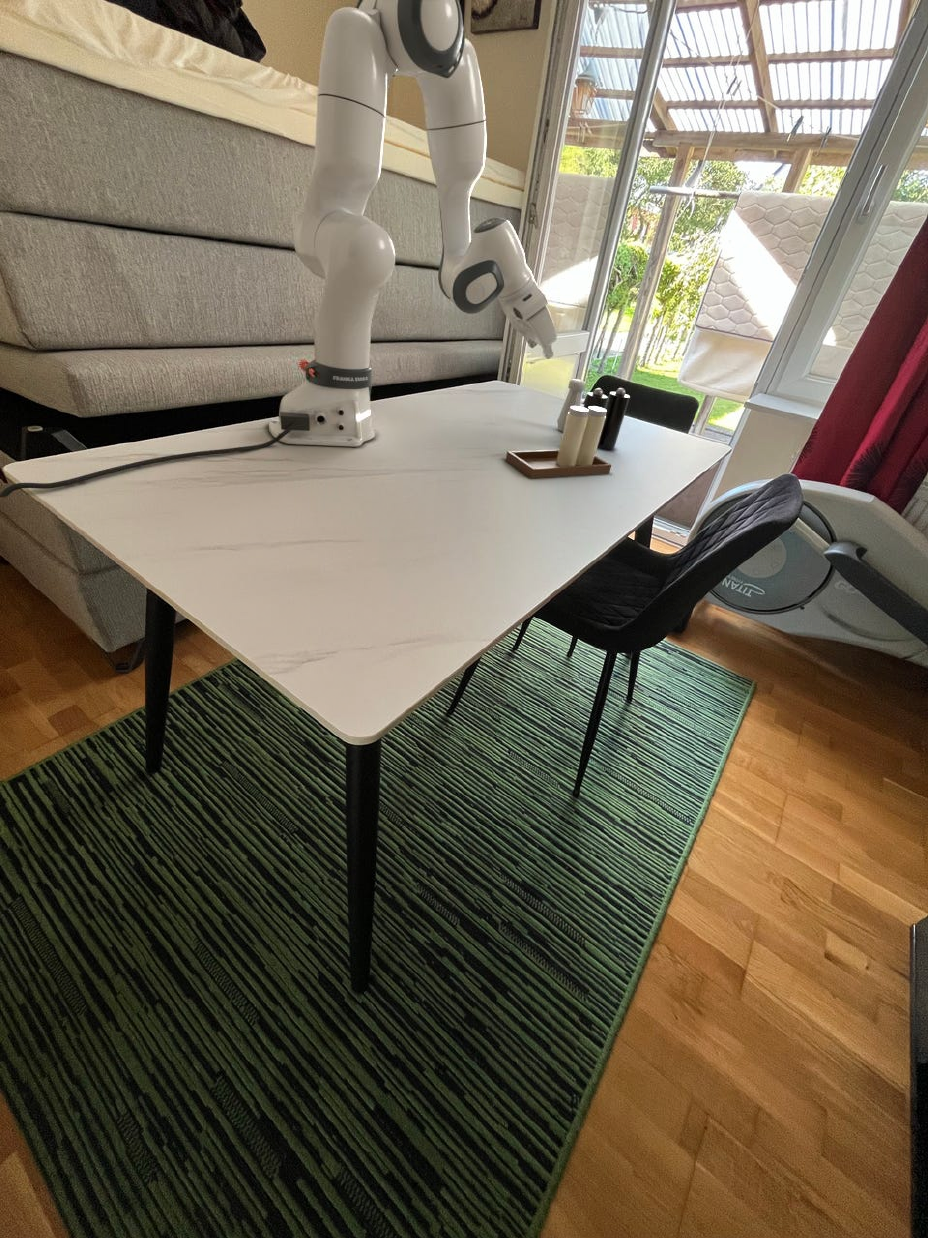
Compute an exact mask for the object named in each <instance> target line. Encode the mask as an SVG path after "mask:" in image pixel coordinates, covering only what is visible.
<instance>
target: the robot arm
mask: <svg viewBox="0 0 928 1238" xmlns="http://www.w3.org/2000/svg"><path fill="white" fill-rule="evenodd" d="M397 76H398V77H413V78H414V79H415V81H416V83H417V85H418V87H419V90H420V93H421V96H422V100H423V108H424V120H425V128H426V139H427V144H428V151H429V157H430V161H431V166H432V171H433V175H434V181H435V185H436V190H437V195H438V204H439V205H438V206H439V217H440V229H441V241H442V242H441V243H442V249H441V258H440V262H439V266H438V271H437V273H438V274H437V281H438V285H439V289H440V291H441V293H442V294H443V296H444V297H446V299H447V300H450V302H452V303H453V304H454V305H455V306H456V307H457V308H458V309H459V310H460V311H461V312H463V313H466V314H470V315H472V314H478V313H480V312H482V311H483V310H485V309H486V308H487V307H488V306H489V305H491V304H492V302H494V300H495V299H496V298H497V300H498V302H499V304H500V307H501V310H502V312H503V313H504V315H505V316H506V317H507V318H508V322H509V323H510V325H511V327H512V328H513V329H514V330H516V331H517V332H519V333H520V334H521V336H522V337H523V338H524V340H525V341H526V343H527V345H528V347H529V348H531V349H534V348H535V347H536V346H537V345H539V346H540V347H541V348H542V355H543V356H544V358H546V360H550V359H551V358H553V356H554V352H553V349H552V344H554V343H555V342H556V341H557V337H558V335H557V330H556V327H555V323H554V321H553V317H552V314H551V312H550V310H549V308H548V306H547V305H548V304H549V300H548V297H547V295H546V294H545V293H544V292H543V291H542V289H541V288H540V287H539V286H538V284H537V282H536V280H535V278H534V275H533V273H532V270H531V269H530V268H529V266H528V264H527V263H526V255H525V252H524V249H523V246H522V244H521V241H520V239H519V236H518V235H517V232H516V230H515V229H514V226H513V225H512V224H511V222H510V221H509V220H507V219H506V218H503V217H493V218H489V219H487V220H485V221H482V222H481V223H479V224H478V225H477V226H476V227H475V228H474V229H473V231H472V236H471V223H470V198H471V194H472V191H473V188H474V186H475V184H476V182H477V181H478V180H479V179H480V177H481V175H482V173H483V171H484V168H485V164H486V155H487V154H486V153H487V126H486V125H487V123H486V112H485V111H486V109H485V108H486V107H485V99H484V91H483V84H482V77H481V72H480V66H479V61H478V56H477V53H476V49H475V47H474V45H473V44H472V42H471V41H470V39H468V38H466V30H465V26H464V20H463V12H462V7H461V4H460V0H358V1H357V3H356V5H355V7H352V6H345V7H341V8H338V9H336V10H334V12H332V14H331V15H330V16H329V18H328V20H327V23H326V26H325V32H324V37H323V42H322V49H321V55H320V62H319V71H318V81H317V82H318V83H317V98H316V99H317V100H316V101H317V102H316V122H315V141H314V144H315V145H314V157H313V165H312V169H311V175H310V180H309V184H308V188H307V192H306V198H305V203H304V207H303V211H302V214H301V216H300V218H299V219H298V221H297V222H296V224H295V227H294V230H293V247H294V250H295V253H296V255H297V257H298V259H299V260H300V262H301V263H302V264H303V265H304V267H306V269H308V270H309V271H310V272H311V273H313V274H314V275H315V276H316V277H318V278H320V279H324V287H323V293H322V298H321V302H320V305H319V308H318V310H316V312H315V314H314V317H313V334H314V335H313V338H314V339H313V341H314V359H313V360H312V361H310V362H309V361H308V360H307V359H305V358H302V359H300V361H299V362H298V366H299V368H300V370H302V371H303V372H304V373H305V374H304V375H305V380H304V381H302V382H301V383H299V384H298V385H297V386H296V387H294V388H293V389H292V390H290V391H289V392H288V393H286V394H285V395H283V397H282V399H281V400H280V404H279V410H278V411H279V412H278V417H276V418H271V420H269V423H268V430H269V433H270V434H271V436H273V439H271V440H269V441H266V442H263V443H259V444H254V445H245V446H236V447H229V448H220V449H209V450H200V451H193V452H186V453H178V454H172V455H165V456H160V457H153V458H150V459H149V458H148V459H145V460H140V461H135V462H131V463H126V464H123V465H118V466H114V467H110V468H106V469H103V470H98V471H95V472H91V473H88V474H84V475H80V476H76V477H72V478H68V479H65V480H64V479H63V480H60V481H55V482H18V483H13V484H11V485H9V486H7V487H5V488H4V489H3V490H2V491H1V492H0V498H7V497H8V496H10V494H12V493H13V492H15V491H17V490H22V489H38V490H39V489H41V490H48V489H57V488H62V487H68V486H71V485H75V484H79V483H82V482H85V481H89V480H92V479H96V478H99V477H103V476H108V475H111V474H115V473H119V472H123V471H126V470H130V469H131V470H132V469H135V468H140V467H144V466H148V465H149V466H150V465H153V464H158V463H164V462H169V461H174V460H182V459H189V458H196V457H203V456H211V455H212V456H213V455H214V456H215V455H222V454H224V455H225V454H231V453H237V452H246V451H255V450H259V449H263V448H267V447H269V446H272V445H274V444H276V443H277V442H281V443H284V444H288V445H289V444H290V445H307V446H308V445H309V446H332V447H360V446H361V445H363V443H365V442H367V441H370V440H372V439H373V438H375V436H376V431H375V428H374V422H373V417H372V416H373V415H372V408H371V394H372V386H373V374H372V366H371V364H370V363H371V361H370V360H371V339H372V338H371V337H372V325H373V318H374V314H375V311H376V307H377V303H378V299H379V296H380V294H381V290H383V287H384V286H385V285H386V284H387V283H388V282H389V281H390V279H391V278H392V275H393V272H394V270H395V267H396V266H395V265H396V251H395V246H394V243H393V241H392V239H391V237H390V235H389V233H388V232H387V231H386V229H384V228H383V227H382V226H381V225H379V224H378V223H376V221H374V220H372V219H370V218H369V217H367V216H364V213H365V210H366V206H367V203H368V200H369V198H370V196H371V194H372V192H373V190H374V188H376V186H377V184H378V182H379V179H380V176H381V171H382V162H383V161H382V160H383V152H384V151H383V148H384V138H385V128H386V118H387V106H388V105H387V104H388V92H389V88H390V84H391V81H392V79H393V78H394V77H397Z"/></svg>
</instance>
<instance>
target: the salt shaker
mask: <svg viewBox="0 0 928 1238" xmlns="http://www.w3.org/2000/svg"><path fill="white" fill-rule="evenodd" d="M567 387H568V389H569V391H568V393H567V396H566V398H565V400H564V403H563V406H562V408H561V411H560V413H559V416H558V417H557V430H559V431H560V432H561V433H563V431H564V427H565V423H566V419H567V415H568V412H569V411H570V407H571V406H579V407H581V399H582V392H584V391H585V389H586V382H585V381H584V380H582V379H577V378H573V379H570V380H569V382H568V386H567Z"/></svg>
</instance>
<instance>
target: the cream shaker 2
mask: <svg viewBox="0 0 928 1238" xmlns="http://www.w3.org/2000/svg"><path fill="white" fill-rule="evenodd" d="M588 410H589V413H588V420H587V423H586V427H585V431H584V435H583V438H582V442H581V446H580V449H579V453H578V457H577V460H576V465H579V466H580V465H592V463H593V460H594V457H595V456H596V453H597V449H598V448H597V446H598V443H599V439H600V436H601V433H602V429H603V426H604V422H605V419H606V416H605V415H606V412H607V410H605V409H603V408H600V407H595V406H590V407H589V408H588Z"/></svg>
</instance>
